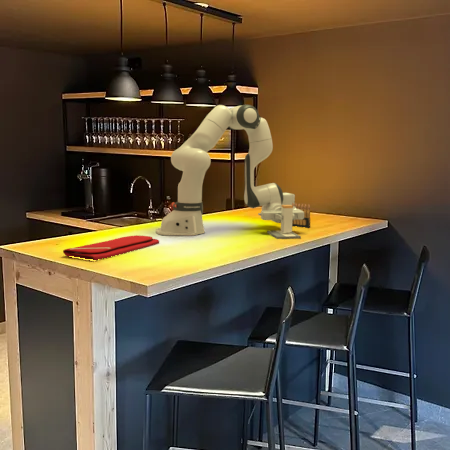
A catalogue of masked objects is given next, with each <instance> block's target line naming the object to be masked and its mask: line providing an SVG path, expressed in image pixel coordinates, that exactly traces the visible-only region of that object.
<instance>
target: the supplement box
mask: <svg viewBox="0 0 450 450" xmlns="http://www.w3.org/2000/svg"><path fill="white" fill-rule="evenodd" d="M295 198H296V195H295V194H294V193H290V192H283V203H282V205H292V203H294V205H295V204H296V202H295V201H296V199H295Z"/></svg>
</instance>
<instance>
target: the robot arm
mask: <svg viewBox="0 0 450 450" xmlns="http://www.w3.org/2000/svg"><path fill="white" fill-rule="evenodd" d="M227 129H230V130H232V131H233V130H234V131H237V130H244V131H245V132H246V135H247V137H248V143H249V149H248V153H246V154H245V157H244V191H243V192H244V195H243V199H244V204H245V205H246V206H247V207H249V208H252V209H256V208H258V207H261V211H260V212H258V214H257V215H258V216H260V219H261V220H263V221H272V222H274V223H277V224H281V219H283V215H281V210H282V203H283V193H284V191H283V190H282V187H280V186H279V185H278V184H277V183H276V182H272V183H271V182H270V183H266V184H262V185H258V186H257V185H256V186H255V168H256V167H257V165H259V164H260V163H261V162H264V160H266V159H268V158H269V156H270V155H271V154H272V152H273V149H274V148H273V147H274V144H273V138H272V134H271V130H270V127H269V124H268V121H267V120H266V119H265V118H263V117H261V116H260V114H259V111H258V109H257V108H256V107H255V106H253V105H251V104H243V105H237V106H234V107H231V108H228V106H226V105H223V104H218V105H216V106H215V107H213V108H212V109H211V111H210V112H209V113H208V114H206V116H205V118H204V119H203V120H202V121H201V123H200V125H199V126H198V127H197V129H196V130H195V131H194V132H193V133H192V134H191V135H190V137H189V138H188V139H187V140H185V141H184V142H183V144H182V145H181V146H180V147H178V148H177V149H174V150H173V152H172V153H171V155H170V156H171V157H170V162H171V165H172V166H173V167H174V168H175V169H176V170H179V171H182V175H181V179H180V182H178V184H177V185H178V186H177V201H176V202H175V201H173V202H171V207H173V210H172V211H170V212H169V213H168V214H167V215H165V216H164V217H162V219H161V223H160V227H158V228H156V229H155V232H156V234H157V235H161V236H197V235H201V234H204V233H205V227H204V223H203V221H204V220H203V212H204V205H203V204H204V203H203V201H202V200H203V183H204V179H205V175H206V173H207V171H208V169H209V168H210V166H211V161H212V160H211V157H210V155H209V153H208V152H209V151H210V150H212V149H214V148H215V146H216V145H217V144H218V142H219V141H220V139H222V138H221V137H222V136H223V135H224V134H225V132H226V130H227ZM303 211H304V210H303ZM303 211H302V210H301V208H300V209H298V208H297V209H296V207H295V205H294V206H293V217H292V220H297V219H301V220H302V219H304V212H303Z"/></svg>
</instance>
